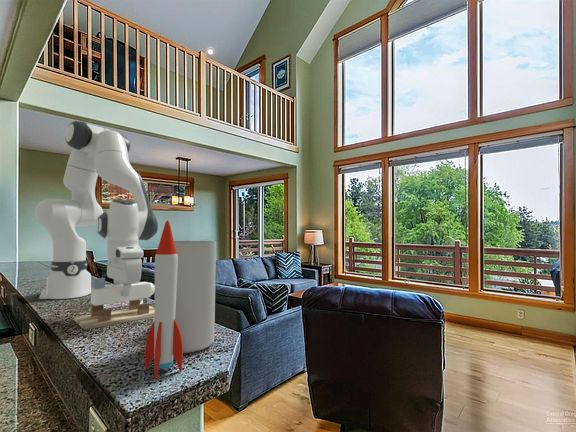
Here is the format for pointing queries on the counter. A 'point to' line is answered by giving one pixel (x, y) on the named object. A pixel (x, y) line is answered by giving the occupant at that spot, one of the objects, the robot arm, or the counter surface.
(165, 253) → the toy rocket
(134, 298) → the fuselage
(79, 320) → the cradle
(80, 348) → the counter surface
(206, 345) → the cylinder vase
